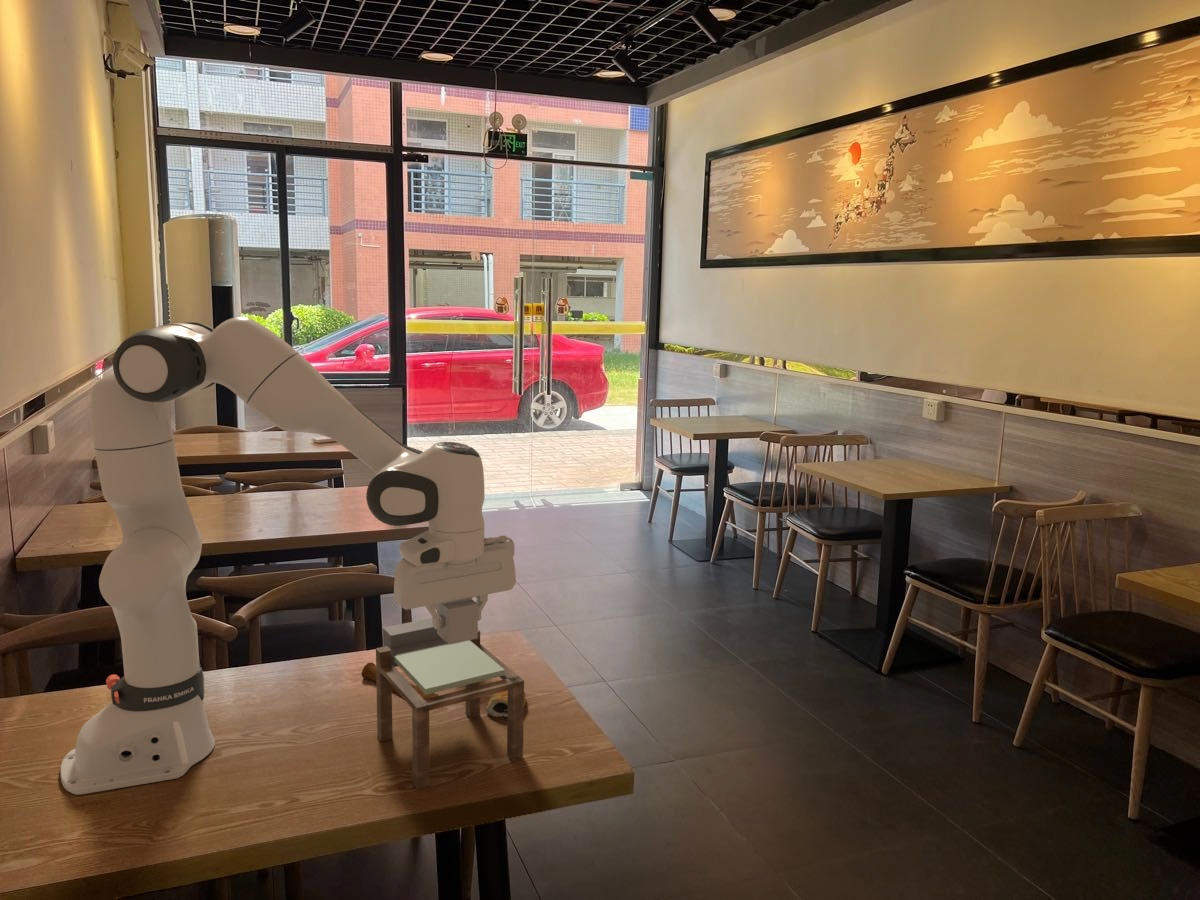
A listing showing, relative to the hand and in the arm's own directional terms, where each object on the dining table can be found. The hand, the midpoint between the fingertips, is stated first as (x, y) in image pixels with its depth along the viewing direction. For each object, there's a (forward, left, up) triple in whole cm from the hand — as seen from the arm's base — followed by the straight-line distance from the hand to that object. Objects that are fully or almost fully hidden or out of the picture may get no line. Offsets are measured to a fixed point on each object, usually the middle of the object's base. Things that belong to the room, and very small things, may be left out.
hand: (457, 623), depth 142 cm
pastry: (+15, +11, -24) cm, 31 cm away
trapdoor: (0, +7, -12) cm, 14 cm away
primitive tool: (+1, +28, -24) cm, 37 cm away
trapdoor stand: (0, +4, -24) cm, 24 cm away
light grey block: (0, 0, -2) cm, 2 cm away
